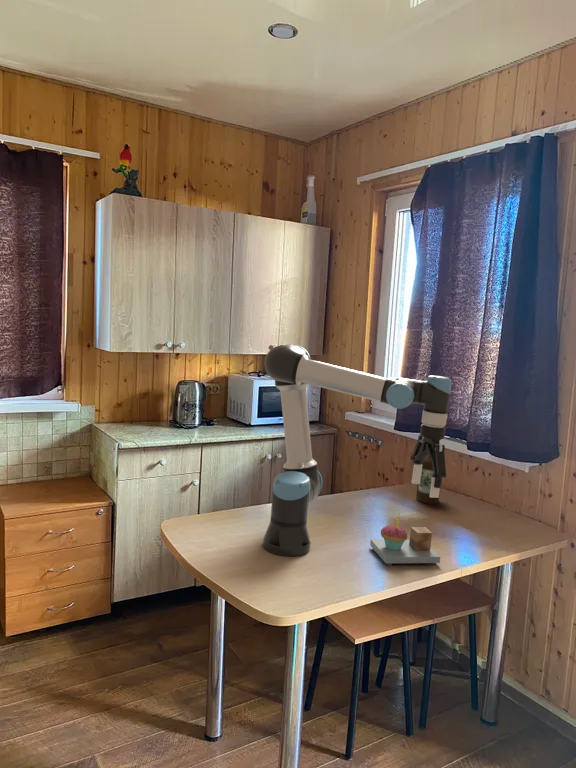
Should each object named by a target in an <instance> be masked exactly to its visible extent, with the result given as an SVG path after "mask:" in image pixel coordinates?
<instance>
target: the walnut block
mask: <svg viewBox="0 0 576 768" xmlns="http://www.w3.org/2000/svg"><path fill="white" fill-rule="evenodd" d="M432 538H433V532H432V531H430V529H428V528H427V527H426V526H411V527H410V534H409V539H410V541H409V545H410V546H411V547H412V548H413V549H414V550H415V551H430V548H431V547H432V545H431V543H432Z"/></svg>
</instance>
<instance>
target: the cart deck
mask: <svg viewBox="0 0 576 768" xmlns="http://www.w3.org/2000/svg"><path fill="white" fill-rule="evenodd" d="M409 541H410V538H407V540H405V541H404V543H403V545H402V547H401V549H400V550H396V551H395V550H390V549H388V548H386V546H385V541H384V538H381V539H380V538H373V539H370V541H369V542H370V543H369V545H370V547H371V548H372V551H374V552H375V553H376V554H377V555H378V557H380V558H381V560H382V561H383V562H384V565H385V566H388V567H389V566H390V567H391V566H392V564H429V565H430V566H437V564H440V562H441V556H440V555H439V554H438V553H437V552H436V551H435V550H434V549H433V548H432V547H430V551H415V550H414V549H413V548H412V547H411V546H410V545H409Z"/></svg>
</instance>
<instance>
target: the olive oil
mask: <svg viewBox="0 0 576 768" xmlns="http://www.w3.org/2000/svg"><path fill="white" fill-rule="evenodd" d="M432 475H434V473H433V468H432V463H431V458H430V457H429V455H428V454H427V455H426V457H425V458H424V460H423V464H422V472H421V479H420V484H416V498H415V499H416V500H417V501H418V502H420V503H424V504H429V505H435V504H438V503H439V501H440V497H439V498H431V497H429V496H430V489H431V482H432ZM442 480H443V478H441V484H440V489H441V487H442V482H443V481H442ZM440 494H441V490H440V491H439V496H441V495H440Z"/></svg>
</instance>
